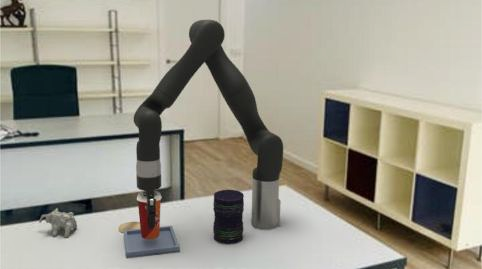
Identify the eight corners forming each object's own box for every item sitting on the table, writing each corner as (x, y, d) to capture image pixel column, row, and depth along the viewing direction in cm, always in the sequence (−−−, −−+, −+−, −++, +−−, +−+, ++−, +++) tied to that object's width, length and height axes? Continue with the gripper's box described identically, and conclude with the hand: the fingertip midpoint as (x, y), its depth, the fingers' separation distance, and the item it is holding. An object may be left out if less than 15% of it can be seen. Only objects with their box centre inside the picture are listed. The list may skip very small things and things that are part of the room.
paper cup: (157, 242, 147) (156, 199, 144) (133, 239, 149) (132, 197, 145) (166, 231, 155) (165, 190, 151) (143, 229, 156) (142, 188, 153)
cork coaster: (144, 221, 168) (144, 220, 168) (146, 232, 160) (146, 231, 160) (117, 224, 166) (117, 223, 166) (118, 235, 158) (118, 233, 157)
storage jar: (249, 239, 156) (250, 196, 153) (224, 247, 151) (225, 202, 147) (231, 228, 164) (231, 187, 161) (207, 236, 158) (207, 193, 155)
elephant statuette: (75, 238, 156) (75, 216, 154) (35, 240, 153) (35, 217, 151) (77, 227, 164) (77, 206, 163) (40, 228, 161) (39, 207, 160)
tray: (172, 230, 162) (172, 225, 162) (179, 251, 147) (179, 246, 147) (123, 235, 158) (123, 230, 157) (126, 258, 143) (126, 252, 142)
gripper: (164, 179, 141) (165, 231, 145) (158, 165, 155) (159, 213, 158) (138, 181, 139) (140, 233, 143) (134, 166, 153) (136, 215, 156)
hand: (150, 222), depth 151 cm, fingers closed on paper cup, 6 cm apart
